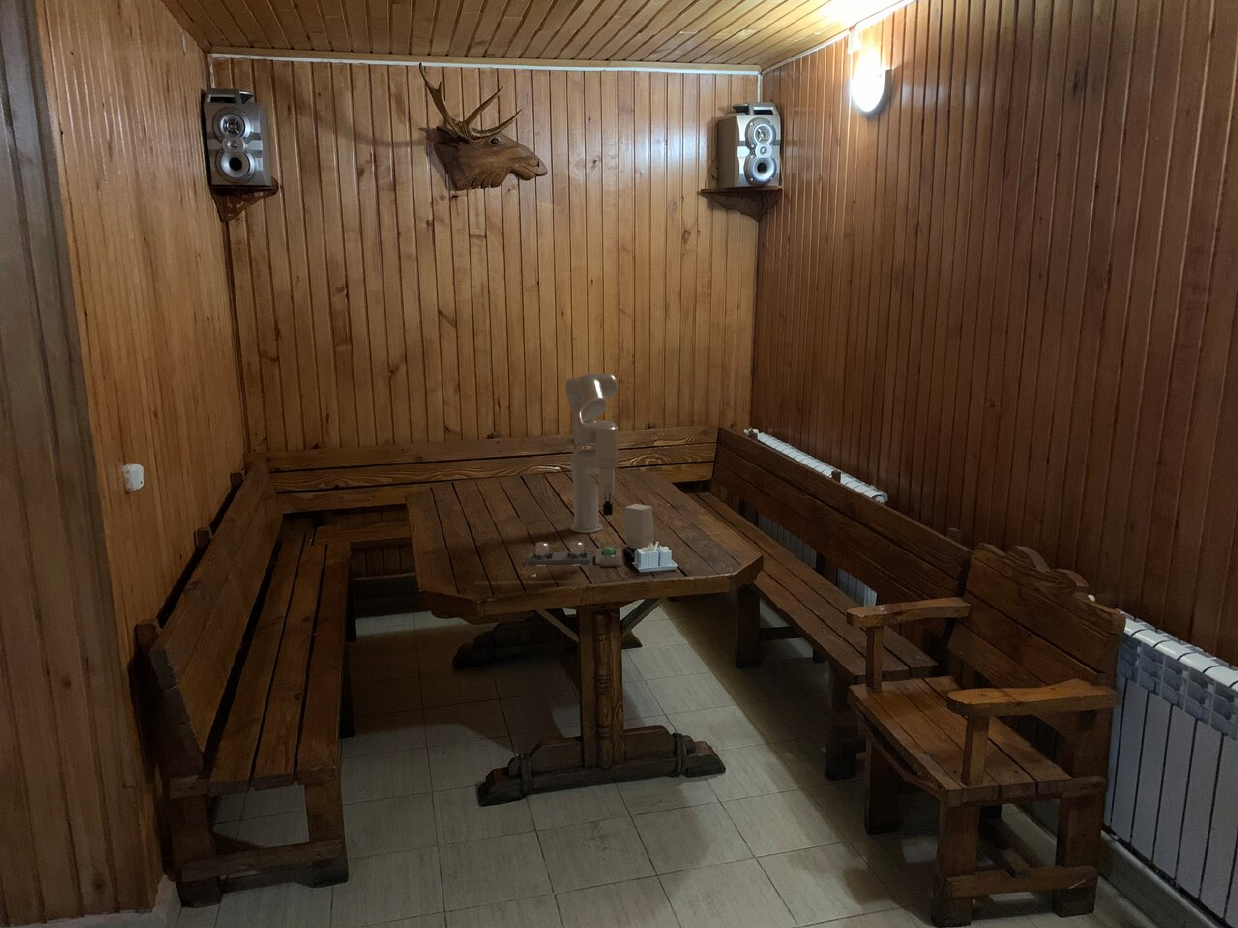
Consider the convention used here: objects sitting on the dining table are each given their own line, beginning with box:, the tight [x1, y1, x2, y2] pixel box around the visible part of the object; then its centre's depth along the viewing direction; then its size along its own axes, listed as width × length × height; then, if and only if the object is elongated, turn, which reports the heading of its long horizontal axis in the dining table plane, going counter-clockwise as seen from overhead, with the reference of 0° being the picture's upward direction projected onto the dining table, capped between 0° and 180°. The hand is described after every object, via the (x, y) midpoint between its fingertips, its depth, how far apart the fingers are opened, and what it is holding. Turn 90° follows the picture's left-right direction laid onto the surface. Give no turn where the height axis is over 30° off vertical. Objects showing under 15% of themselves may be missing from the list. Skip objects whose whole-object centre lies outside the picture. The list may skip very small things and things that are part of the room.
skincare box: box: [624, 503, 654, 548], centre depth 326 cm, size 8×7×16 cm
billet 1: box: [534, 541, 550, 560], centre depth 311 cm, size 4×4×6 cm
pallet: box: [524, 551, 594, 568], centre depth 311 cm, size 13×23×2 cm, turn 90°
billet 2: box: [570, 540, 585, 559], centre depth 311 cm, size 4×4×6 cm
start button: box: [602, 546, 615, 555], centre depth 311 cm, size 4×4×3 cm
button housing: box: [595, 547, 623, 567], centre depth 311 cm, size 9×9×4 cm
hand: (608, 514), depth 308 cm, fingers closed
